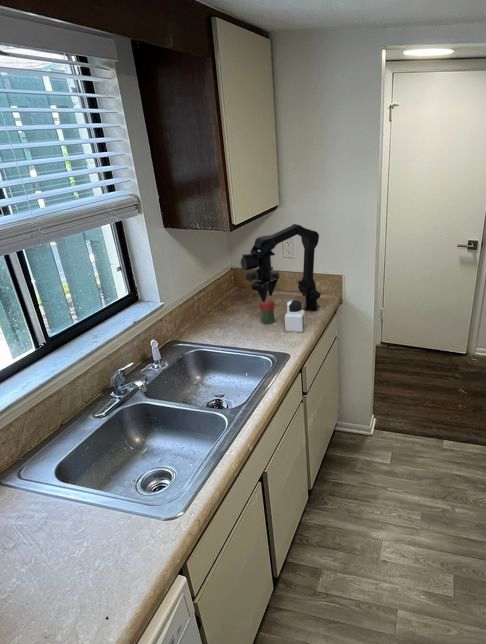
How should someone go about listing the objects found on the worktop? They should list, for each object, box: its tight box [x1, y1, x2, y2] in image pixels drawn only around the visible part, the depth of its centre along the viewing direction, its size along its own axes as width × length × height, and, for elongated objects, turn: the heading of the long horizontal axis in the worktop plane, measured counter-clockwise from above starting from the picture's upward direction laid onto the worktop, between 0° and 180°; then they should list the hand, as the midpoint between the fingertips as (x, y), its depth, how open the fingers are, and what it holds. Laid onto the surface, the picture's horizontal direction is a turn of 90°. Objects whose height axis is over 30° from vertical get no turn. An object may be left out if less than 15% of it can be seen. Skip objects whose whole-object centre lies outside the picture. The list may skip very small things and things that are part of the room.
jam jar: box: [260, 308, 275, 325], centre depth 203 cm, size 6×6×10 cm
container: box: [284, 299, 306, 333], centre depth 195 cm, size 8×8×13 cm
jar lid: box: [259, 298, 276, 311], centre depth 202 cm, size 7×7×3 cm
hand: (267, 298), depth 200 cm, fingers open, 8 cm apart
